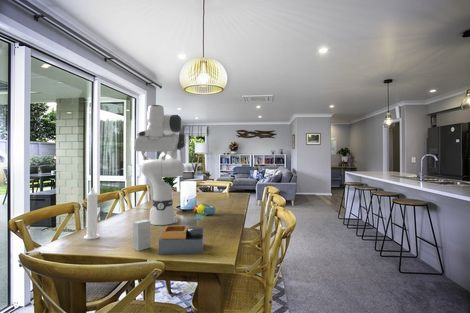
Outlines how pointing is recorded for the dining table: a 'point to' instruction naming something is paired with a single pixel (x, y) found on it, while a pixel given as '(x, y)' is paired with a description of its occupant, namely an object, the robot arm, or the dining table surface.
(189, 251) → the grey and orange organizer
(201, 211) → the blue and yellow piece
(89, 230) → the candle
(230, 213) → the dining table surface
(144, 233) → the skincare box
